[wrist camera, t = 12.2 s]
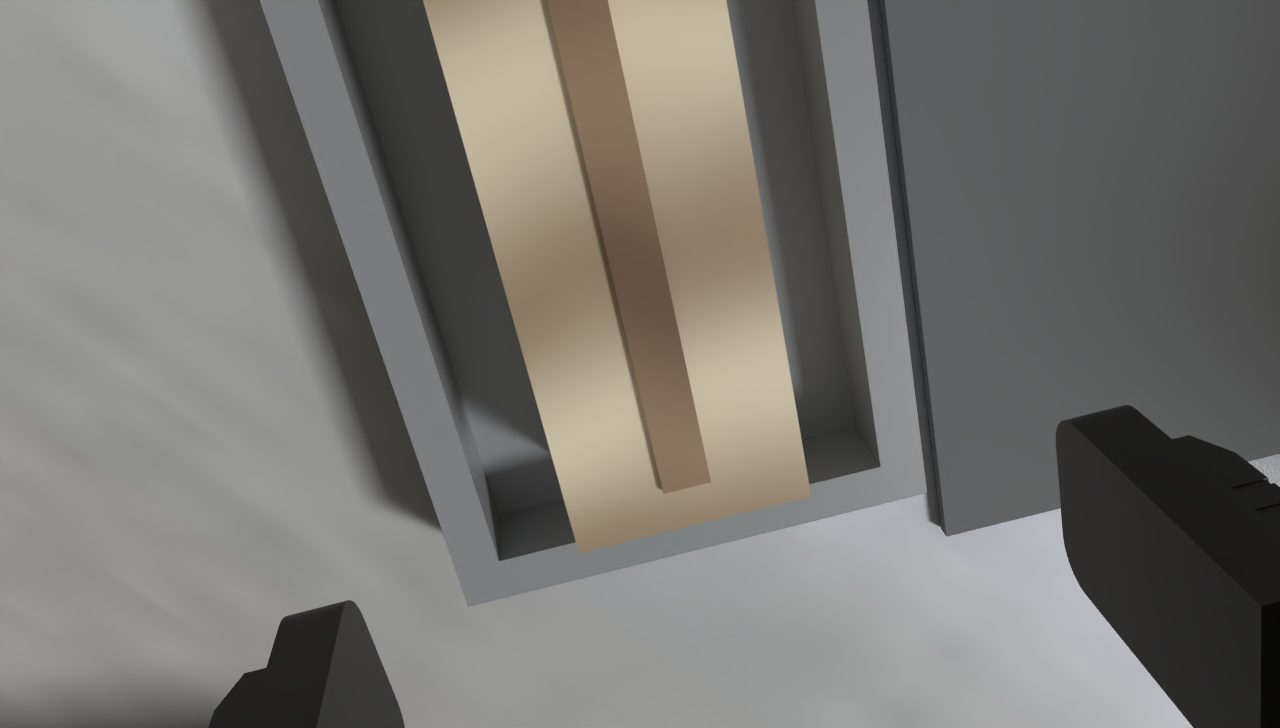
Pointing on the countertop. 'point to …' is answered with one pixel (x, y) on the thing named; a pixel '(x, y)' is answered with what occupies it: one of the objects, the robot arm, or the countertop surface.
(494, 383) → the slate tray
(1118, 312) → the rubber mat
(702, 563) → the countertop surface
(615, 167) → the wooden block
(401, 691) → the countertop surface
